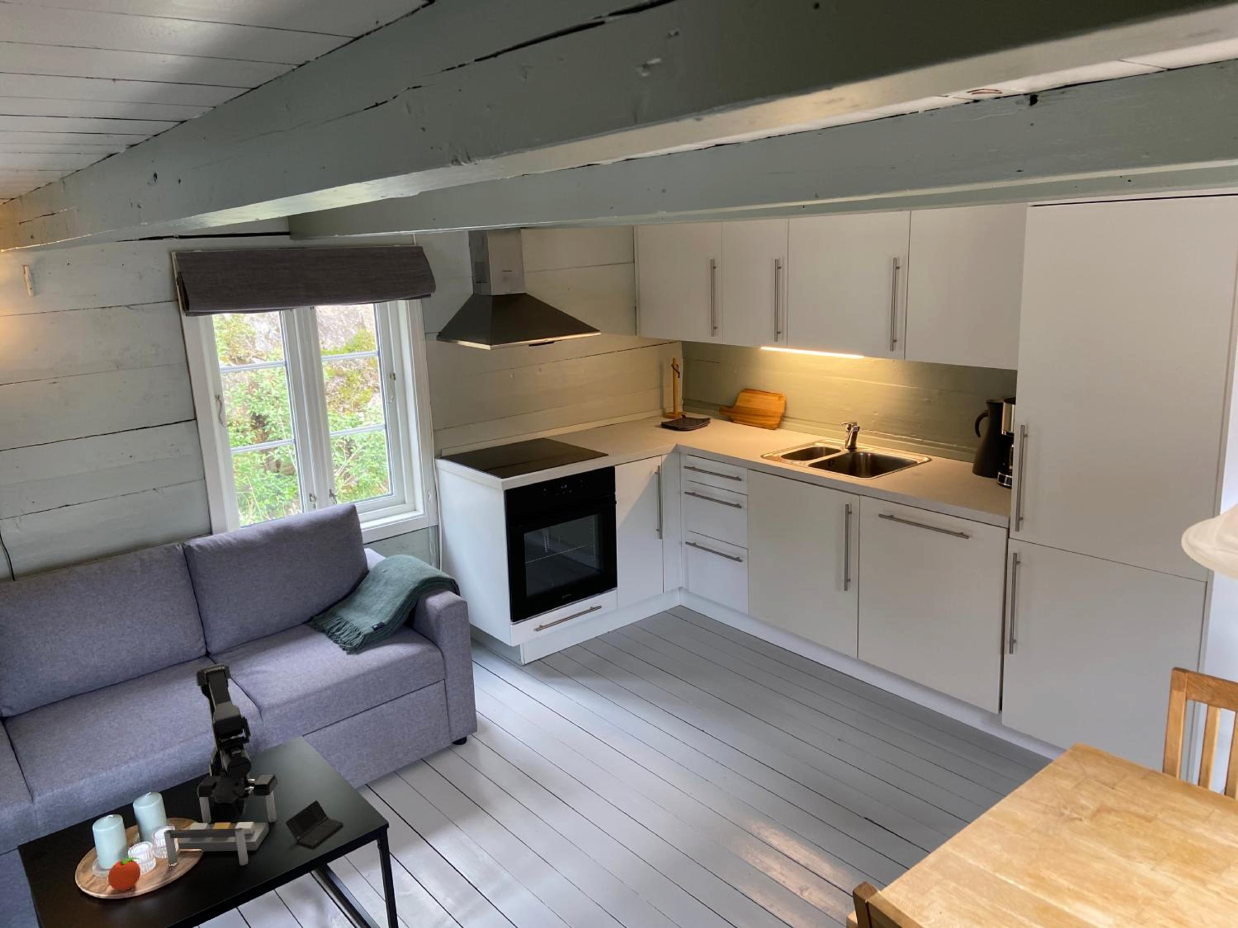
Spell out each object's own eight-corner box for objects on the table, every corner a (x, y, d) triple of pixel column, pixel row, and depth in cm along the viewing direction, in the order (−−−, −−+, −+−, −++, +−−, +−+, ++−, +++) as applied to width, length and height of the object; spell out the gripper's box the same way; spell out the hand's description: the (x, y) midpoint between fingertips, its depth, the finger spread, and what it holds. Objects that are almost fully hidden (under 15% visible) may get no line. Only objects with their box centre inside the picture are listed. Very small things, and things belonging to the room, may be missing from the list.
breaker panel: (194, 832, 241) (193, 824, 241) (268, 830, 241) (267, 822, 240) (179, 851, 233) (178, 842, 233) (256, 849, 233) (255, 841, 232)
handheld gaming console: (320, 843, 232) (299, 810, 233) (302, 857, 234) (281, 823, 235) (347, 823, 242) (327, 791, 244) (329, 836, 245) (309, 804, 246)
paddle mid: (217, 829, 238) (215, 822, 236) (232, 828, 237) (230, 822, 236) (214, 835, 236) (212, 828, 235) (229, 835, 236) (227, 828, 234)
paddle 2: (240, 828, 237) (238, 822, 236) (255, 828, 237) (253, 821, 236) (237, 834, 236) (235, 828, 234) (252, 834, 235) (250, 828, 234)
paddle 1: (195, 829, 238) (192, 823, 237) (210, 829, 238) (207, 822, 236) (191, 835, 236) (189, 829, 235) (207, 835, 236) (204, 829, 235)
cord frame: (205, 819, 247) (200, 788, 245) (277, 817, 246) (273, 786, 244) (167, 866, 228) (162, 833, 226) (246, 864, 227) (241, 832, 225)
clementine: (137, 871, 226) (133, 846, 225) (152, 881, 222) (148, 855, 221) (104, 890, 220) (100, 864, 218) (119, 900, 216) (114, 874, 214)
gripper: (182, 778, 224) (191, 834, 228) (256, 776, 224) (264, 833, 227) (203, 754, 235) (212, 808, 239) (274, 753, 235) (282, 807, 238)
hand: (242, 814), depth 235 cm, fingers closed
